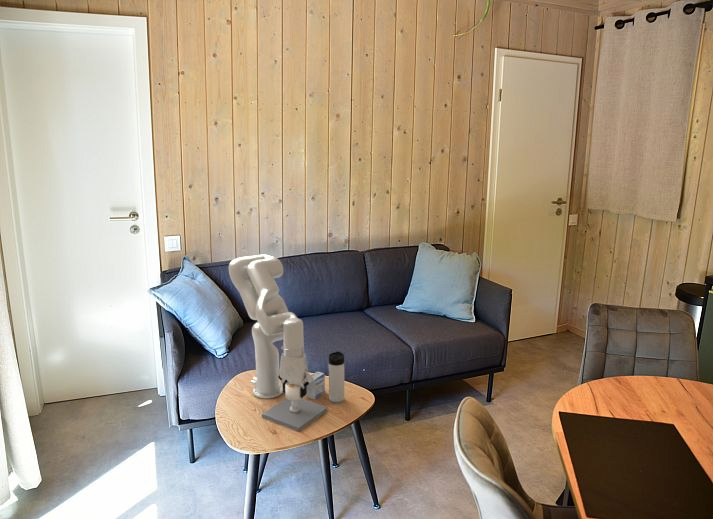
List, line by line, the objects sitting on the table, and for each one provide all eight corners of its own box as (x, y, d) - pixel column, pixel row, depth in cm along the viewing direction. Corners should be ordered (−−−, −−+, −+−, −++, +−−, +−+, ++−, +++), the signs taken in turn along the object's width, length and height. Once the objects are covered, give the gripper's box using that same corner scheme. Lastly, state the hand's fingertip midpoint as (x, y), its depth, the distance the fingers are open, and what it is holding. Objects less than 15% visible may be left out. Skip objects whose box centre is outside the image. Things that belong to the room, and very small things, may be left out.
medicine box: (314, 400, 222) (314, 380, 219) (305, 397, 224) (305, 378, 222) (325, 392, 228) (325, 373, 226) (316, 389, 230) (316, 370, 228)
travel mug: (346, 397, 224) (346, 351, 219) (342, 405, 218) (342, 358, 213) (331, 395, 225) (331, 350, 221) (327, 403, 219) (326, 356, 214)
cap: (291, 390, 213) (291, 377, 212) (307, 394, 210) (307, 380, 209) (281, 398, 207) (281, 384, 206) (297, 402, 204) (297, 388, 203)
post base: (261, 417, 208) (261, 400, 206) (292, 398, 223) (291, 382, 221) (298, 431, 198) (298, 413, 197) (327, 410, 213) (327, 393, 211)
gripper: (268, 350, 205) (270, 393, 209) (308, 358, 197) (309, 403, 202) (279, 343, 211) (280, 385, 215) (318, 351, 204) (319, 394, 208)
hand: (294, 393), depth 208 cm, fingers closed on cap, 7 cm apart
